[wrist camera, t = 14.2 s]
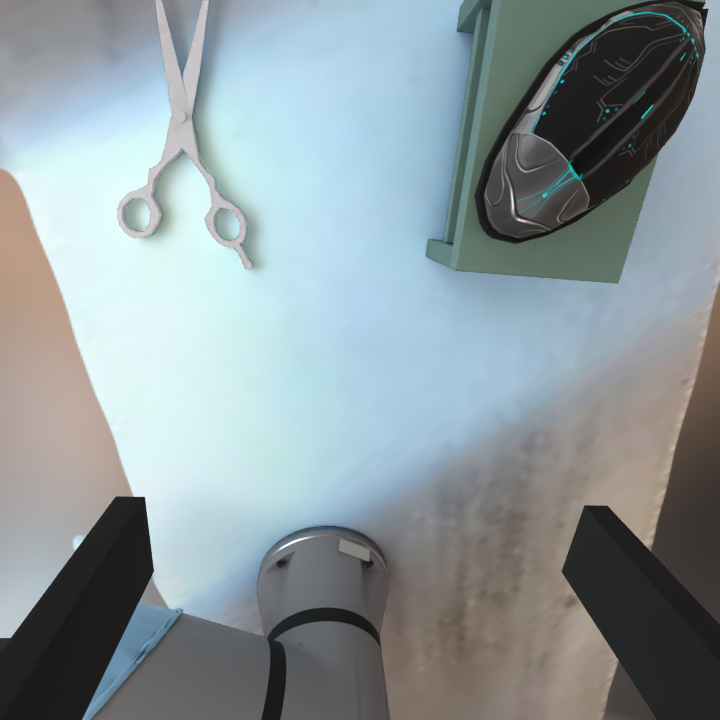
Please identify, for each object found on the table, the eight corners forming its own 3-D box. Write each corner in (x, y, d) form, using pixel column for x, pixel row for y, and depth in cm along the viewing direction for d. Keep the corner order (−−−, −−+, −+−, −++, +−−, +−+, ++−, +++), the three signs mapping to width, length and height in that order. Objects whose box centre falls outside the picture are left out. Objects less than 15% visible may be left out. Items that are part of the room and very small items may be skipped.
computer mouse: (727, 76, 24) (840, 37, 19) (510, 276, 28) (555, 293, 22) (658, -61, 22) (767, -150, 16) (428, 179, 25) (456, 171, 20)
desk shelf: (552, 266, 37) (618, 283, 28) (425, 256, 36) (455, 270, 27) (611, 28, 31) (718, -40, 22) (460, 6, 29) (512, -75, 21)
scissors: (119, 254, 33) (94, -60, 26) (124, 253, 34) (100, -53, 27) (251, 269, 34) (260, -27, 27) (252, 268, 35) (262, -21, 28)
